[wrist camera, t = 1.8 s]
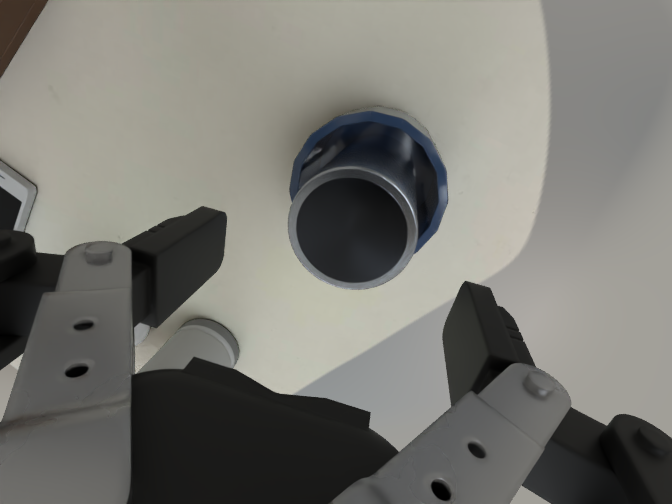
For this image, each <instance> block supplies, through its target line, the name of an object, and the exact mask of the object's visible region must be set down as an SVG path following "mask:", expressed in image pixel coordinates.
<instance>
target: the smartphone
mask: <svg viewBox="0 0 672 504" xmlns="http://www.w3.org/2000/svg"><path fill="white" fill-rule="evenodd" d="M35 196H36V187H35V186H34V185H33V184H32V183H30V182H29V181H27V180H26V179H25V178H23V177H22V176H21V175H19V174H18V173H17V172H15V171H14V170H12V169H11V168H10V167H8V166H7V165H6V164H4V163H3V162H2V161H0V230H17V231H22V232H23V231H24V228H25V225H26V222H27V220H28V217H29V214H30V211H31V208H32V205H33V202H34V199H35Z"/></svg>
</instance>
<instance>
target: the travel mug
mask: <svg viewBox="0 0 672 504" xmlns="http://www.w3.org/2000/svg"><path fill="white" fill-rule="evenodd" d="M193 357H197V358H200V359H204V360H207V361H210V362H213V363H216V364H219V365H223V366H226V367H229V368H232V369H233V367H234V366H235V364H236V362H237V360H238V357H239V349H238V345H237V343H236V341H235V339H234V337H233V336H232V334H231V333H230V332H229V331H228V330H227V329H225V328H224V327H223V326H221V325H220V324H218V323H216V322H213V321H210V320H206V319H195V320H190V321H188V322H186V323H185V324H184V325H182V326H181V328H180V329H179V330H178V331H177V332H176V333H175V334H174V335H173V336H172V337H171V338H170V339H169V340H168V341H167V342H166V343H165V344H164V345H163V346H162V347H161V348H160V350H159V351H158V352H157V353H156V354H155V355H154V356H153V357H152V358H151V359H150V360H149V361H148V362H147V363H146V364H145V365H144V366H143V367H142V368H141V369H140V371H139V372H138V373H141V372H145V371H151V370H158V369H184V368H185V367H186V365H187V364H188V363H189V362H190V361H191V359H192V358H193Z"/></svg>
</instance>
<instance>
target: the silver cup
mask: <svg viewBox="0 0 672 504" xmlns="http://www.w3.org/2000/svg"><path fill="white" fill-rule="evenodd" d="M288 233H289V239H290V242H291V245H292V248H293V250H294V252H295V254H296V256H297V257H298V259H299V261H300V262H301V263H302V264H303V266H304V267H305V268H306V269H307V270H308V271H309V272H310V273H312V274H313V275H314V276H315V277H317V278H318V279H320V280H322V281H323V282H326V283H328V284H330V285H333V286H335V287H339V288H343V289H351V290H361V289H369V288H373V287H377V286H379V285H382V284H384V283H386V282H388V281H390V280H391V279H393V278H394V277H396V276H397V275H398V274H399V273H400V272H401V271H402V270H403V269H404V268H405V267H406V266H407V264H408V263H409V261H410V259H411V258H412V256H413V253H414V251H415V248H416V244H417V239H418V217H417V198H416V179H415V167H414V162H413V159H412V157H411V154H410V153H409V151H408V150H407V148H406V147H405V146H404V145H403V144H402V143H401V142H399V141H398V140H396V139H395V138H393V137H391V136H388V135H384V134H375V133H374V134H367V135H363V136H360V137H358V138H356V139H354V140H353V141H352V142H350V143H349V144H348V145H347V146H346V147H345V148H344V149H342V150H341V151H340V152H339V153H338V154H337V155H336V156H335V157H334V158H333V159H332V160H330V161H329V162H328V163H327V164H326V165H325V166H324V167H323V168H322V169H321V170H320V171H318V172H317V173H316V174H315V175H314V176H313V177H312V178H311V179H310V180H309V181H308V182H306V183H305V184H304V185H303V186H302V188H301V189H300V190H299V191H298V193H297V194H296V196H295V198H294V200H293V202H292V205H291V207H290V211H289V216H288Z"/></svg>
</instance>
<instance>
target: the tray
mask: <svg viewBox="0 0 672 504" xmlns="http://www.w3.org/2000/svg"><path fill="white" fill-rule="evenodd" d="M47 1H48V0H0V77H1V76H2V74H3V72H4V71H5V69H6V67H7V66H8V64H9V63H10V61H11V59H12V58H13V56H14V55H15V53H16V51H17V50H18V48H19V46H20V45H21V43H22V42H23V40H24V38H25V37H26V35H27V33H28V32H29V30H30V29H31V27H32V25H33V24H34V22H35V20H36V19H37V17H38V16H39V14H40V12H41V11H42V9H43V7H44V6H45V4H46V3H47Z"/></svg>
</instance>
